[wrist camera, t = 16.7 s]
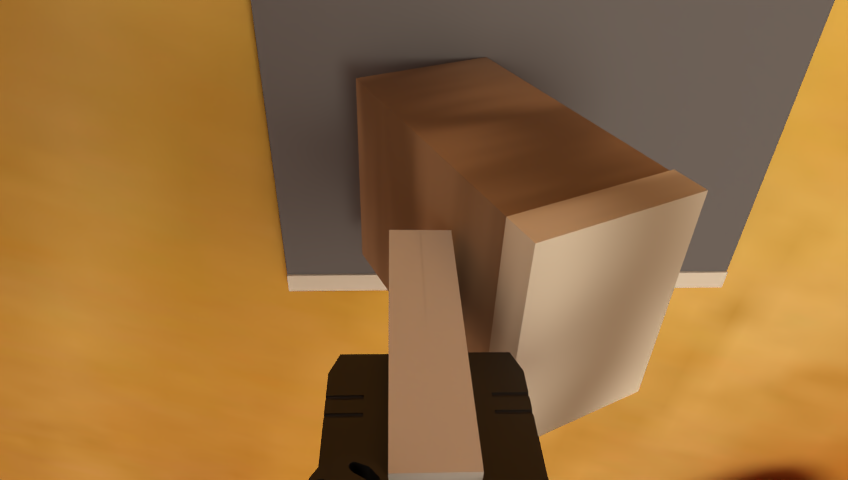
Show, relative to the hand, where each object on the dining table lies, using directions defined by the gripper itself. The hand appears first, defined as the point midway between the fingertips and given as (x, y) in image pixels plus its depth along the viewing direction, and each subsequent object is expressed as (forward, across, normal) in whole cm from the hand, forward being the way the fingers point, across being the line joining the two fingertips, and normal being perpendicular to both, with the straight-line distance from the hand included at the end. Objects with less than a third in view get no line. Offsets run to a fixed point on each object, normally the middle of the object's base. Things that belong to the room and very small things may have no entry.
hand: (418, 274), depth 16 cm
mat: (+8, +4, 0) cm, 9 cm away
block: (+7, 0, 0) cm, 7 cm away
